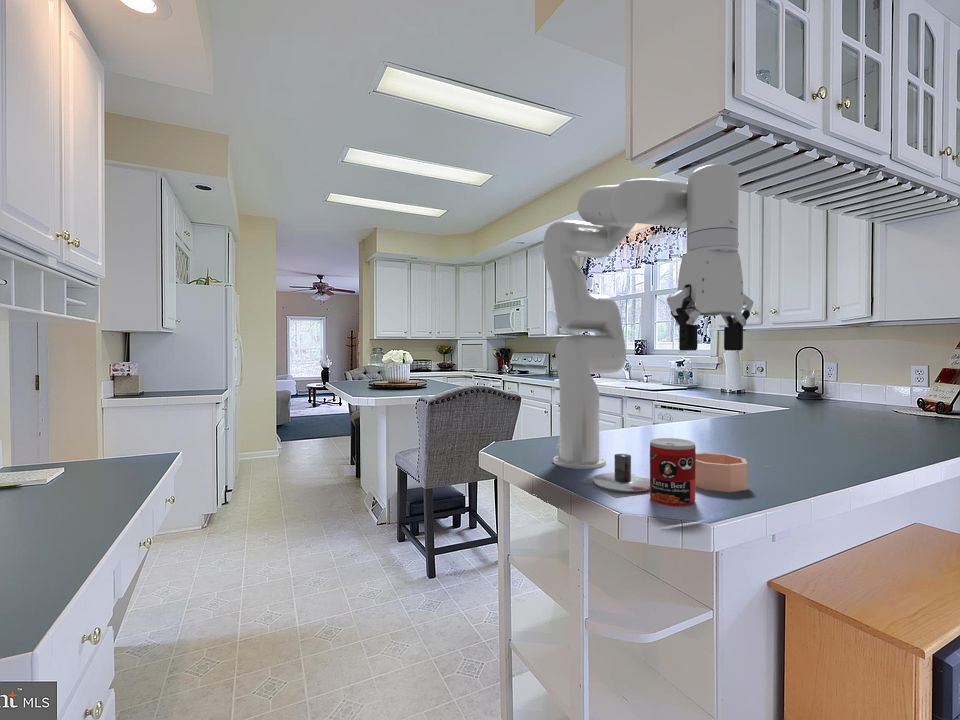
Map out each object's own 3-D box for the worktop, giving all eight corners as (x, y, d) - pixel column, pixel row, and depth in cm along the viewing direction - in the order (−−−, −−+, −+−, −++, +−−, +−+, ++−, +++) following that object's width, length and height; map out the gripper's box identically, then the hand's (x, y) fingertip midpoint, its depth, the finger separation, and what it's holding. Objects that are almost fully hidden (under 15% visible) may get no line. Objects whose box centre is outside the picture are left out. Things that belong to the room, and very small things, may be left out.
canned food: (645, 503, 84) (645, 443, 84) (655, 492, 90) (655, 436, 90) (691, 511, 79) (691, 447, 79) (698, 499, 86) (698, 440, 86)
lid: (582, 480, 98) (582, 452, 98) (627, 475, 102) (627, 448, 102) (616, 496, 87) (616, 464, 87) (666, 489, 91) (666, 459, 91)
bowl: (675, 481, 98) (675, 455, 98) (714, 476, 102) (714, 451, 102) (717, 495, 88) (718, 466, 88) (759, 489, 92) (759, 462, 92)
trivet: (577, 481, 98) (577, 479, 98) (628, 475, 103) (628, 474, 103) (616, 499, 86) (615, 497, 86) (671, 492, 91) (671, 490, 91)
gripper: (731, 253, 82) (730, 350, 82) (653, 246, 76) (652, 350, 76) (771, 244, 75) (770, 350, 75) (688, 235, 69) (687, 350, 69)
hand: (711, 350), depth 76 cm, fingers open, 9 cm apart
